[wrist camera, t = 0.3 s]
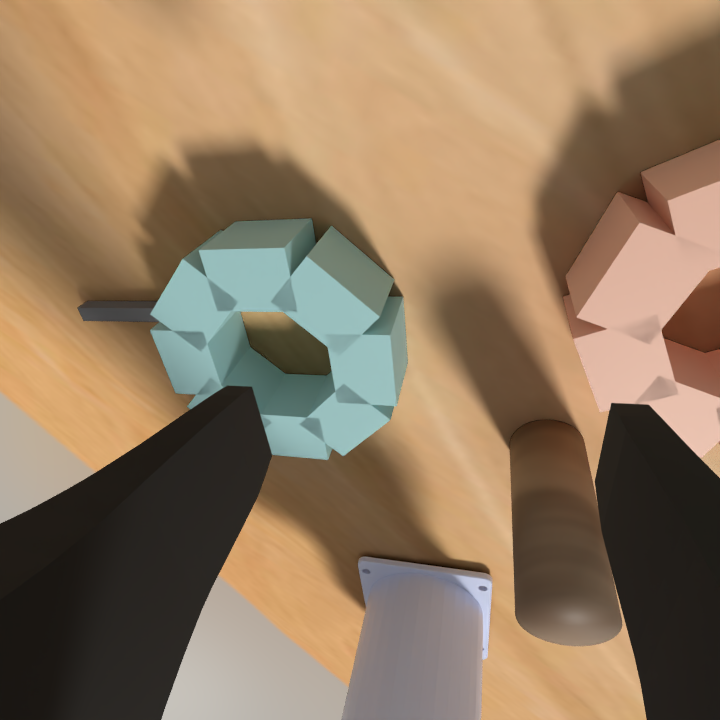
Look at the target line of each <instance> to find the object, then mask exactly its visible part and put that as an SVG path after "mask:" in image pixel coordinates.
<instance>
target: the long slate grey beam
mask: <svg viewBox="0 0 720 720" xmlns="http://www.w3.org/2000/svg"><path fill="white" fill-rule="evenodd" d="M157 302H158V301H86V302H85V303H83V304H82V305H81V306H79V307H78V310H79V312H80V315H81V317H82V319H83V321H128V322H160V321H158V320H157V319H156V318H154V317H153V316H152V315H150V314H151V312H152V310H153V309H154V307H155V305H156V303H157Z"/></svg>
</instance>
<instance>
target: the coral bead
mask: <svg viewBox="0 0 720 720" xmlns="http://www.w3.org/2000/svg"><path fill="white" fill-rule="evenodd" d="M640 173H641V177H642V181H643V185H644V189H645V193H646V197H647V200H648V202H645V201H642V200H640V199H637V198H634V197H631V196H628V195H626V194H623V193H620V192H617V193H616V195H615V196H614V198H613V200H612V201H611V203H610V204H609V206H608V208H607V209H606V211H605V213H604V214H603V216H602V218H601V219H600V221H599V222H598V224H597V226H596V227H595V229H594V231H593V232H592V234H591V236H590V237H589V239H588V241H587V242H586V244H585V245H584V247H583V249H582V250H581V252H580V254H579V255H578V257H577V259H576V260H575V262H574V263H573V265H572V267H571V268H570V270H569V272H568V273H567V275H566V281H567V285H568V288H569V292H570V294H569V295H566V296H563V300H564V304H565V308H566V312H567V316H568V320H569V324H570V328H571V332H572V337H573V340H574V343H575V346H576V348H577V351H578V354H579V356H580V359H581V362H582V365H583V367H584V370H585V373H586V375H587V378H588V381H589V384H590V386H591V389H592V392H593V394H594V397H595V400H596V403H597V405H598V408H599V411H600V412H604V411H608V410H610V407H611V403H626V404H648V405H650V406H651V407H652V409H653V410H654V411H655V412H656V413H657V414H658V415H659V416H660V417H661V418H662V419H663V420H664V421H665V422H666V423H667V424H668V425H669V426H670V427H671V428H672V429H673V430H674V432H675V433H676V434H677V435H678V436H679V437H680V438H681V439H682V440H683V441H684V442H685V443H686V444H687V445H688V446H689V447H690V448H691V449H692V450H693V451H694V452H695V454H696V455H697V456H699V457H701V458H702V457H703V456H704V455H705V454H706V453H707V452H708V451H709V450H710V449H712V448H713V447H714V446H715V445H716V444H717V443H718V442H719V444H720V349H718V350H714V351H710V352H706V353H703V352H701V351H698V350H695V349H692V348H690V347H687V346H684V345H681V344H679V343H676V342H673V341H671V340H668V339H665V338H663V335H662V331H661V329H662V328H663V327H664V326H665V324H666V323H667V322H668V321H669V320H670V318H671V317H672V316H673V315H674V313H675V312H676V311H677V310H678V308H679V307H680V306H681V305H682V304H683V302H684V301H685V300H686V299H687V297H688V296H689V295H690V294H691V292H692V291H693V290H694V289H695V287H696V286H697V285H698V284H699V283H700V281H701V280H702V279H703V278H704V276H705V275H706V274H707V273H708V271H710V270H713V269H717V268H720V140H717V141H715V142H712V143H710V144H708V145H705V146H703V147H700V148H698V149H695V150H693V151H691V152H688V153H686V154H683V155H681V156H678V157H676V158H674V159H671V160H669V161H666V162H664V163H662V164H659V165H657V166H654V167H652V168H649V169H647V170H645V171H642V172H640Z"/></svg>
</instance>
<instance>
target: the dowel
mask: <svg viewBox="0 0 720 720" xmlns="http://www.w3.org/2000/svg"><path fill="white" fill-rule="evenodd" d="M510 470H511V500H512V530H513V560H514V590H515V616H516V619H517V621H518V623H519V624H520V626H521V627H522V628H523V629H524V630H526V631H527V632H528V633H530V634H532V635H533V636H535V637H537V638H540V639H542V640H545V641H548V642H551V643H555V644H560V645H567V646H590V645H596V644H600V643H603V642H606V641H608V640H610V639H612V638H614V637H615V636H616V635H617V634H618V633H619V632H620V630H621V628H622V618H621V614H620V609H619V604H618V599H617V595H616V590H615V585H614V581H613V576H612V571H611V566H610V563H609V559H608V555H607V551H606V547H605V543H604V539H603V535H602V531H601V524H600V517H599V510H598V505H597V500H596V495H595V490H594V486H593V481H592V476H591V471H590V467H589V462H588V457H587V452H586V448H585V443H584V439H583V437H582V435H581V434H580V433H579V432H578V431H577V430H576V429H575V428H574V427H572V426H570V425H569V424H566V423H564V422H560V421H556V420H538V421H533V422H530V423H527V424H525V425H523V426H522V427H520V428H519V429H518V430H517V431H515V433H514V434H513V436H512V437H511V440H510Z"/></svg>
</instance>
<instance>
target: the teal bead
mask: <svg viewBox="0 0 720 720" xmlns="http://www.w3.org/2000/svg"><path fill="white" fill-rule="evenodd" d="M393 282H394V279H393V278H392V277H391V276H389V275H388V274H387V273H386V272H385V271H384V270H383V269H381V268H380V267H379V266H378V265H377V264H376V263H374V262H373V261H372V260H371V259H370V258H369V257H367V256H366V255H365V254H364V253H363V252H362V251H360V250H359V249H358V248H357V247H356V246H355V245H353V244H352V243H351V242H350V241H349V240H348V239H346V238H345V237H344V236H343V235H342V234H341V233H340V232H338V231H337V230H336V229H335V228H334V227H333V226H330V228H329V229H328V230H327V231H326V233H325V234H324V235H323V236H322V238H321V239H320V240H319V241H318V243H317V244H316V240H315V234H314V229H313V223H312V218H306V219H282V220H258V221H236V222H234V223H233V224H232V225H230V226H229V227H228V228H226V229H225V230H224V231H222V230H220V231H219V232H217V233H216V234H215V235H213V236H212V237H211V238H209V239H208V240H207V241H205V242H204V243H203V244H201V245H200V246H199V247H197V248H196V249H195V250H194V251H192V252H191V253H190V254H188V255H187V256H186V257H184V258H183V259H182V261H181V263H180V264H179V266H178V268H177V269H176V271H175V273H174V274H173V276H172V278H171V280H170V281H169V283H168V285H167V286H166V288H165V290H164V291H163V293H162V295H161V297H160V298H159V300H158V302H157V303H156V305H155V307H154V309H153V310H152V312H151V314H150V315H152V316H153V317H154V318H156V319H157V320H158V321H160V322H159V323H158V324H156V325H155V326H154V327H153V328H152V329H151V330H150V332H151V334H152V337H153V339H154V342H155V344H156V346H157V349H158V351H159V354H160V356H161V359H162V361H163V364H164V366H165V369H166V371H167V374H168V376H169V378H170V381H171V383H172V386H173V388H174V391H175V393H178V394H195V395H196V396H195V397H194V398H193V400H192V401H191V402H190V403H189V405H188V406H187V407H188V408H189V409H192V408H193V407H195V406H196V405H198V404H199V403H201V402H202V401H204V400H205V399H207V398H208V397H210V396H211V395H213V394H214V393H216V392H217V391H219V390H221V389H222V388H224V387H226V386H227V385H228V386H250V387H252V388H253V391H254V395H255V398H256V402H257V405H258V408H259V412H260V415H261V419H262V422H263V425H264V429H265V432H266V436H267V439H268V442H269V446H270V449H271V452H272V455H279V456H290V457H302V458H313V459H324V460H328V459H329V456H330V454H331V451H332V449H334V450H335V451H337V452H338V453H339V454H341V455H342V456H344V455H346V454H347V453H348V452H349V451H351V450H352V449H353V448H355V447H356V446H357V445H359V444H360V443H361V442H362V441H364V440H365V439H366V438H368V437H369V436H370V435H372V434H373V433H374V432H375V431H377V430H378V429H379V428H381V427H382V426H383V425H385V424H386V423H387V422H388V421H390V420H391V416H392V412H393V408H394V406H397V403H398V399H399V395H400V391H401V387H402V383H403V379H404V376H405V372H406V368H407V364H408V357H407V343H406V329H405V314H404V300H403V297H388V295H389V292H390V290H391V287H392V285H393ZM240 311H252V312H284V313H285V314H286V315H288V316H289V317H290V318H291V319H293V320H294V321H295V322H296V323H298V324H299V325H300V326H301V327H303V328H304V329H305V330H307V331H308V332H309V333H310V334H312V335H313V336H314V337H315V338H317V339H318V340H319V341H320V342H322V343H323V344H324V345H326V346H327V347H328V352H329V358H330V364H331V369H332V371H331V372H330V373H329V374H328V375H327V376H326V375H303V374H285V373H284V372H283V371H281V370H280V369H279V368H277V367H276V366H275V365H273V364H272V363H271V362H269V361H268V360H267V359H265V358H264V357H263V356H261V355H260V354H259V353H257V352H256V351H255V350H253V349H252V348H251V347H250V344H249V341H248V337H247V334H246V330H245V326H244V323H243V319H242V316H241V312H240Z"/></svg>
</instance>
